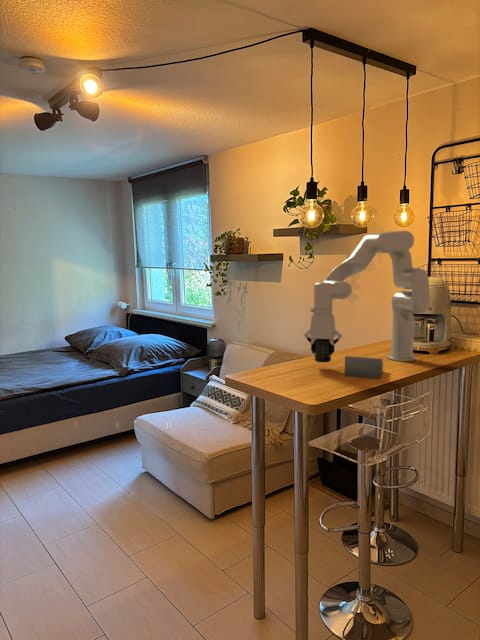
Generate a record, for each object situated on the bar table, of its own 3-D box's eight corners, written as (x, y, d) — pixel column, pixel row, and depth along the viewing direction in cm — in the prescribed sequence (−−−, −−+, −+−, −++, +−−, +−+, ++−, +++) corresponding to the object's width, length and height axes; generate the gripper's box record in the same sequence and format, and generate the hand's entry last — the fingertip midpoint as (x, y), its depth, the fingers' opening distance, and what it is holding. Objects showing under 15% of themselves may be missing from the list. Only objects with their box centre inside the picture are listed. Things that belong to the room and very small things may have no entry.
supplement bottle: (332, 359, 199) (332, 332, 197) (328, 363, 193) (328, 334, 191) (316, 358, 202) (317, 331, 200) (312, 361, 195) (312, 333, 194)
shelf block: (348, 368, 198) (349, 349, 197) (382, 371, 193) (383, 352, 192) (344, 376, 185) (345, 356, 184) (380, 379, 180) (382, 359, 179)
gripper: (300, 312, 193) (300, 354, 196) (343, 313, 187) (342, 356, 190) (304, 310, 200) (304, 350, 203) (345, 311, 194) (344, 352, 197)
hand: (322, 353), depth 197 cm, fingers closed on supplement bottle, 6 cm apart
